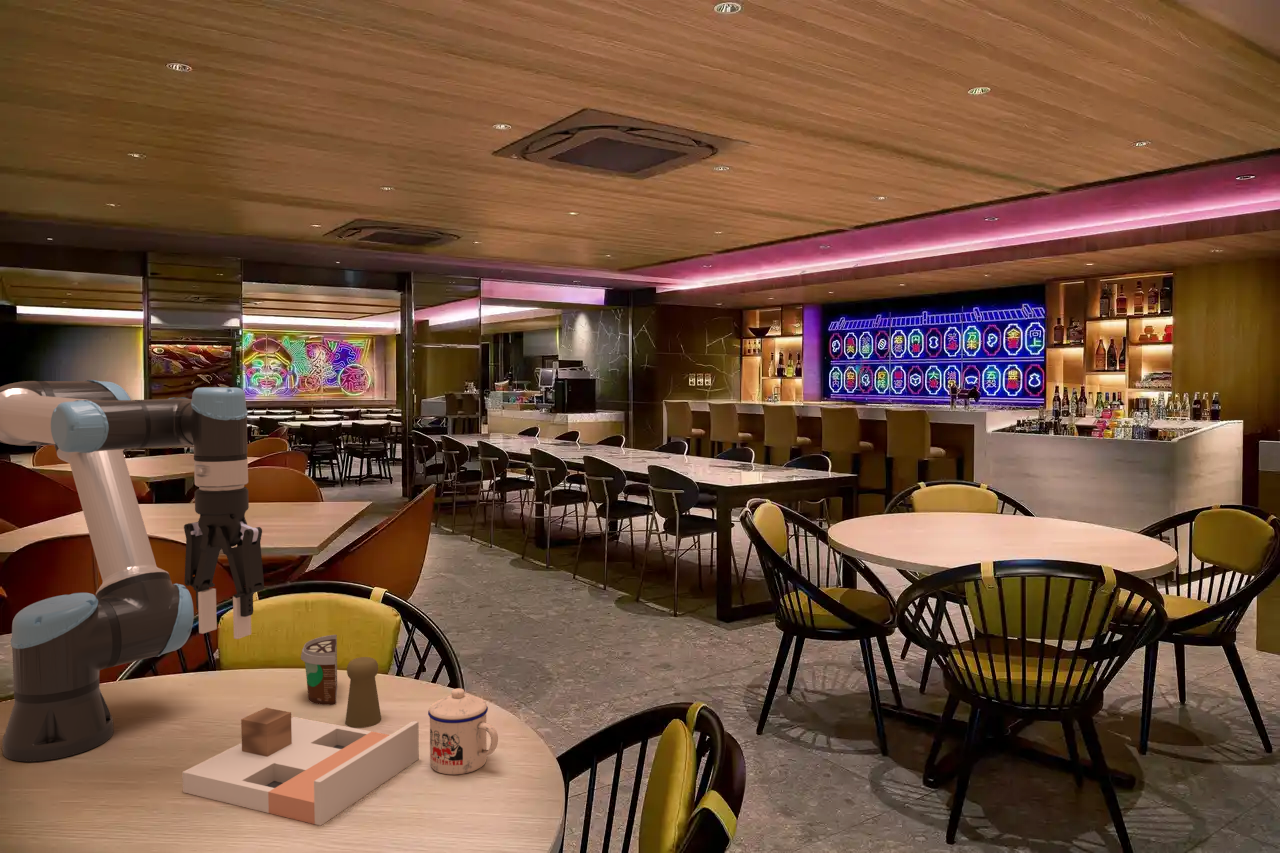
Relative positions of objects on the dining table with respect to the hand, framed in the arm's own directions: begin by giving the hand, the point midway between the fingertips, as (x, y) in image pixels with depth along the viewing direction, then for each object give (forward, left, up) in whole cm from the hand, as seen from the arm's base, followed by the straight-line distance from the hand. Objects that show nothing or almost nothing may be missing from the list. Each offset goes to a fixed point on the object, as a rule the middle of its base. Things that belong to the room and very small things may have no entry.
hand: (225, 633), depth 137 cm
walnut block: (+8, 0, -17) cm, 19 cm away
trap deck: (+15, 0, -20) cm, 25 cm away
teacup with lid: (+36, +12, -20) cm, 43 cm away
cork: (+10, +20, -20) cm, 30 cm away
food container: (-5, +26, -20) cm, 33 cm away
